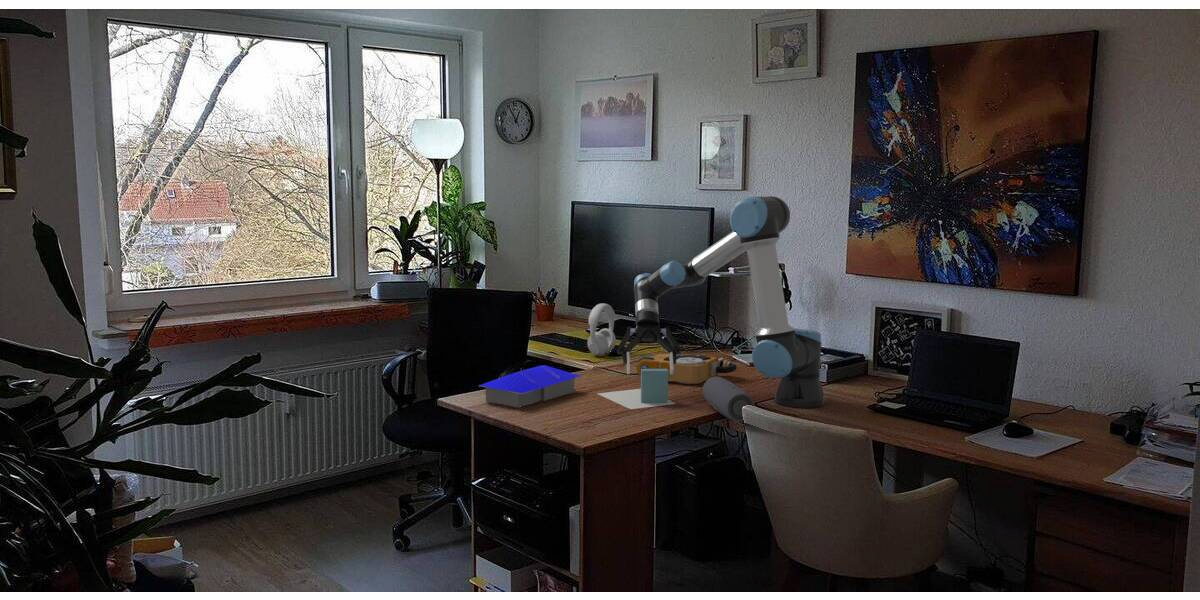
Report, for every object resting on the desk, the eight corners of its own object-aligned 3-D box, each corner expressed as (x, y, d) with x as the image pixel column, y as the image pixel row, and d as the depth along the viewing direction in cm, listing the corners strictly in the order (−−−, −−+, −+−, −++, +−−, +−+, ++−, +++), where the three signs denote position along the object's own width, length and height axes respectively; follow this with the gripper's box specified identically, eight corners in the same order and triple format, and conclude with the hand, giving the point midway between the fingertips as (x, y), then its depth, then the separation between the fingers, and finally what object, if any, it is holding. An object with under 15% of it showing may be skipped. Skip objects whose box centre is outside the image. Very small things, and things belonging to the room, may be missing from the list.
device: (662, 345, 353) (740, 354, 338) (662, 368, 354) (740, 377, 339) (633, 356, 333) (715, 365, 319) (633, 380, 334) (714, 390, 320)
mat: (676, 405, 299) (676, 403, 299) (630, 411, 292) (630, 409, 291) (640, 390, 318) (640, 388, 318) (596, 395, 311) (596, 393, 311)
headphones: (602, 350, 386) (602, 300, 384) (620, 351, 383) (620, 301, 380) (582, 358, 370) (582, 306, 367) (601, 360, 367) (601, 307, 364)
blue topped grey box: (522, 411, 292) (522, 380, 290) (478, 402, 301) (478, 372, 300) (580, 392, 316) (581, 363, 315) (538, 385, 326) (538, 357, 324)
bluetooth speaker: (756, 425, 277) (757, 391, 276) (725, 427, 275) (726, 392, 274) (729, 406, 299) (730, 374, 298) (700, 407, 297) (700, 375, 296)
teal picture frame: (666, 400, 303) (666, 368, 301) (667, 402, 300) (668, 370, 298) (640, 400, 302) (641, 368, 301) (641, 402, 299) (641, 370, 298)
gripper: (684, 323, 320) (688, 378, 307) (608, 322, 319) (609, 378, 306) (686, 309, 314) (691, 365, 301) (609, 309, 313) (610, 365, 300)
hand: (650, 371), depth 304 cm, fingers open, 13 cm apart
